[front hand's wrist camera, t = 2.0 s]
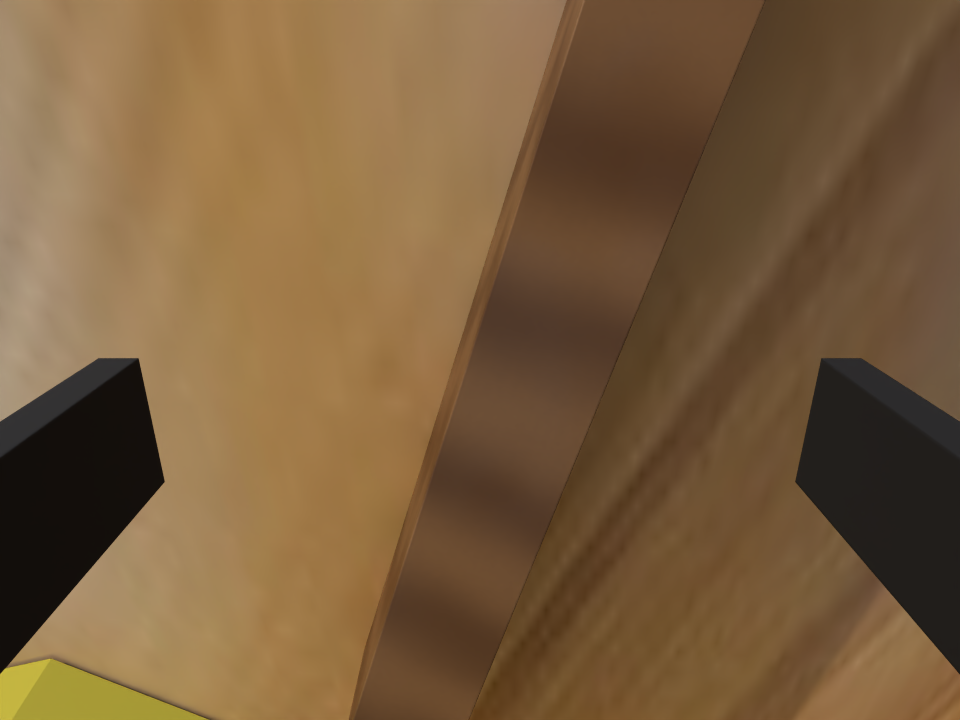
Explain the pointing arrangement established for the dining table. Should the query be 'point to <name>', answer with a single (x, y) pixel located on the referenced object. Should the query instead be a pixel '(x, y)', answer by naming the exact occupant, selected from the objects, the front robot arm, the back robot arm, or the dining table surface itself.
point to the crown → (75, 696)
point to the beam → (546, 332)
